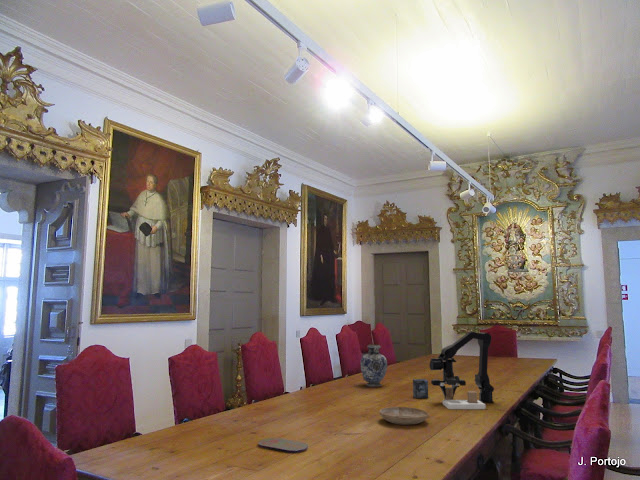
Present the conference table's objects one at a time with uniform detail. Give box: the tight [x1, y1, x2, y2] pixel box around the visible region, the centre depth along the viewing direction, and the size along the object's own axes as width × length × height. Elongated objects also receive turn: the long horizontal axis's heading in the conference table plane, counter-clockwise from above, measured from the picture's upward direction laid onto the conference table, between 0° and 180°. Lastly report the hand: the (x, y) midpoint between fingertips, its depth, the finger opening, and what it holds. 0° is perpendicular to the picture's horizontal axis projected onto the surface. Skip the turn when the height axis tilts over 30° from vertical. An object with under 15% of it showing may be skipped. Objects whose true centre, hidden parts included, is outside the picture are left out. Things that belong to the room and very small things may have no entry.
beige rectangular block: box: [444, 386, 454, 400], centre depth 271 cm, size 4×4×8 cm
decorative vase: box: [359, 343, 388, 388], centre depth 328 cm, size 21×19×28 cm
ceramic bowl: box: [379, 406, 429, 426], centre depth 227 cm, size 23×24×5 cm
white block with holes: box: [442, 390, 487, 410], centre depth 261 cm, size 20×12×8 cm, turn 91°
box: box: [412, 378, 429, 399], centre depth 286 cm, size 8×6×11 cm
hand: (448, 397), depth 271 cm, fingers closed on beige rectangular block, 4 cm apart
